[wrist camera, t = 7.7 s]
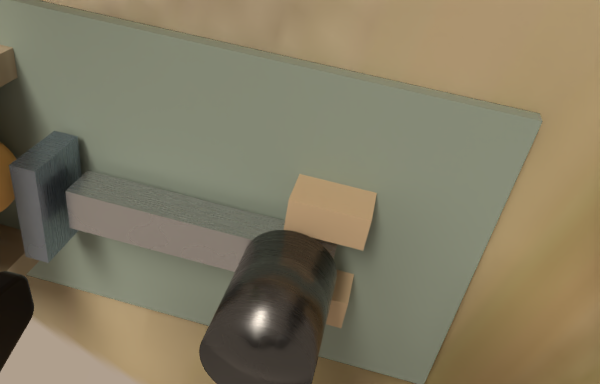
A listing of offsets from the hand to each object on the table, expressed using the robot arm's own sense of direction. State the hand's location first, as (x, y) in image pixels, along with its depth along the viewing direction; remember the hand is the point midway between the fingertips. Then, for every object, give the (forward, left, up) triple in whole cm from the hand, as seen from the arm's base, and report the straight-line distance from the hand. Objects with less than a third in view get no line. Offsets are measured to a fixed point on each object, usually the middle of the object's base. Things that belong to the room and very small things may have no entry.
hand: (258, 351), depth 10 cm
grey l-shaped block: (+5, +6, -11) cm, 14 cm away
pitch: (+5, +6, -12) cm, 14 cm away
